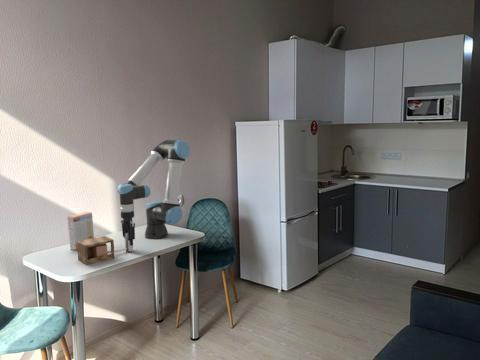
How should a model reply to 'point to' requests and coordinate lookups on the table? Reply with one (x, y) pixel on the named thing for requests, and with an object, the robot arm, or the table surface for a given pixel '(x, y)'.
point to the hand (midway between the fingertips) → (129, 249)
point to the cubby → (87, 251)
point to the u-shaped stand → (102, 249)
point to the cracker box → (80, 228)
